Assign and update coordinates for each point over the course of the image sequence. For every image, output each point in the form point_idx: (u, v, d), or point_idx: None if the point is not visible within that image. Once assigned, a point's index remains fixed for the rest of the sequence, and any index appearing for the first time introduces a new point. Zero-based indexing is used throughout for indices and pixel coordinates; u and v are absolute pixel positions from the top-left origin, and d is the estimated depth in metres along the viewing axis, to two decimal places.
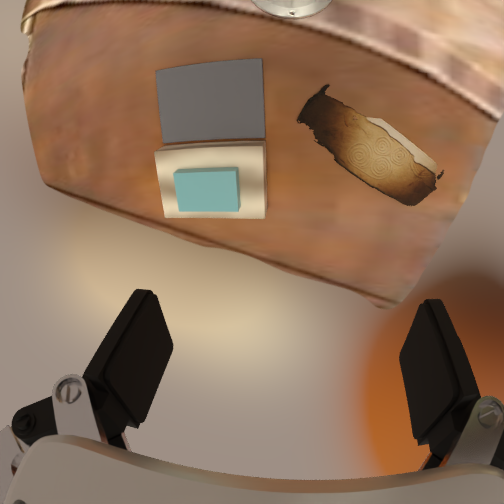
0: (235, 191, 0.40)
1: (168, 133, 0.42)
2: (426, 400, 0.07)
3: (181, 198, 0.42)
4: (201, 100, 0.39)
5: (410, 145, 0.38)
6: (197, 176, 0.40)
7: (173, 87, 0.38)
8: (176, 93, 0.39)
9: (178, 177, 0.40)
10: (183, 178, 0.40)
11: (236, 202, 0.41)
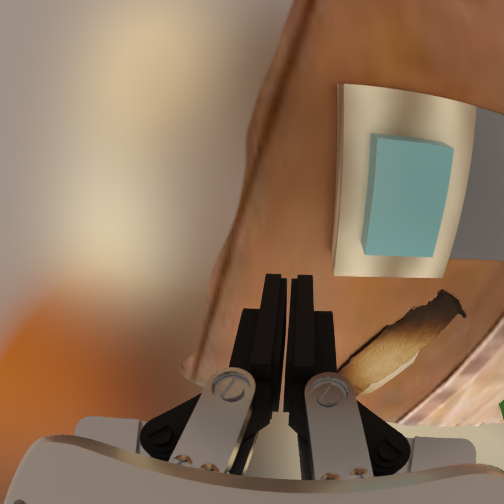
0: (401, 254, 0.21)
1: None
2: None
3: (405, 151, 0.17)
4: (500, 183, 0.21)
5: (387, 379, 0.39)
6: (440, 194, 0.18)
7: None
8: None
9: (445, 157, 0.17)
10: (441, 167, 0.17)
11: (382, 253, 0.22)
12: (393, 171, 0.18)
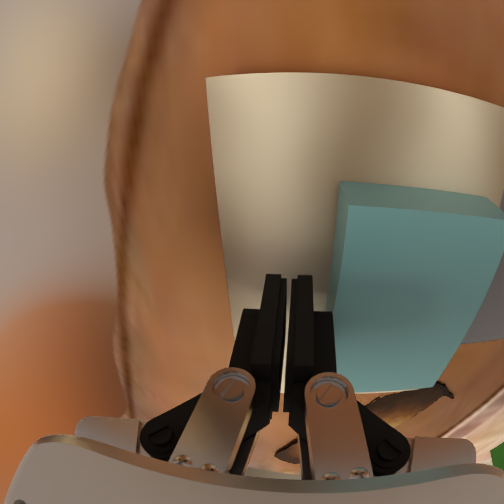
0: (381, 389, 0.12)
1: None
2: None
3: (414, 233, 0.08)
4: None
5: None
6: (468, 306, 0.09)
7: None
8: None
9: (495, 240, 0.07)
10: (482, 260, 0.08)
11: None
12: (381, 275, 0.09)
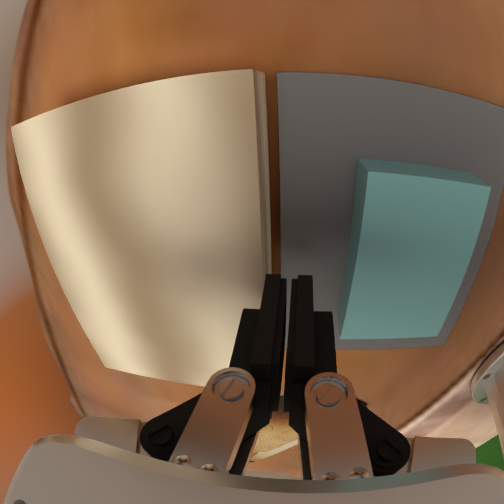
0: None
1: (315, 98, 0.11)
2: None
3: None
4: None
5: (276, 450, 0.31)
6: None
7: (463, 151, 0.11)
8: (445, 156, 0.11)
9: None
10: None
11: None
12: None
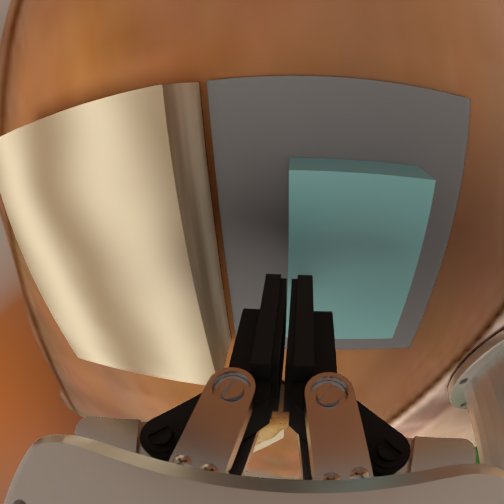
0: None
1: (244, 102, 0.11)
2: None
3: None
4: None
5: (255, 449, 0.32)
6: None
7: (409, 144, 0.11)
8: (388, 150, 0.12)
9: None
10: None
11: None
12: None
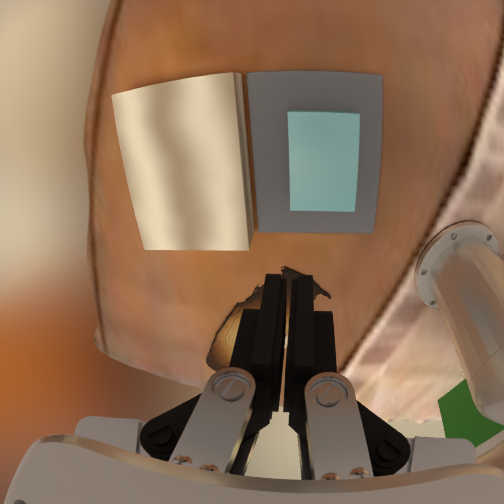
0: None
1: (265, 83, 0.23)
2: None
3: None
4: None
5: None
6: None
7: (348, 101, 0.23)
8: (337, 104, 0.23)
9: None
10: None
11: None
12: None
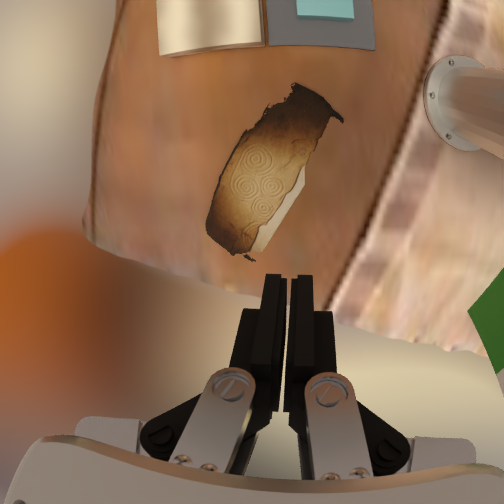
0: (323, 18, 0.24)
1: None
2: None
3: None
4: None
5: (277, 219, 0.39)
6: None
7: None
8: None
9: None
10: None
11: (338, 19, 0.24)
12: None
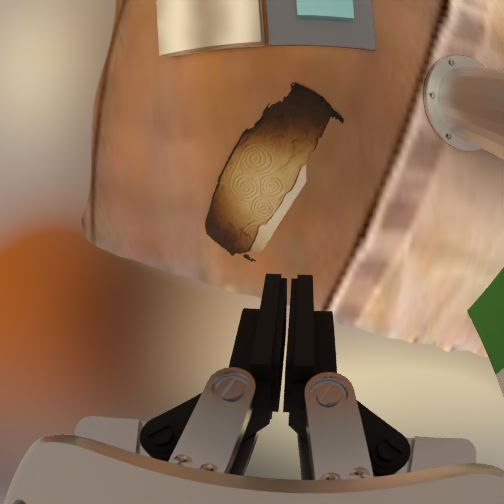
0: (323, 18, 0.24)
1: None
2: None
3: None
4: None
5: (277, 219, 0.39)
6: None
7: None
8: None
9: None
10: None
11: (338, 19, 0.24)
12: None
